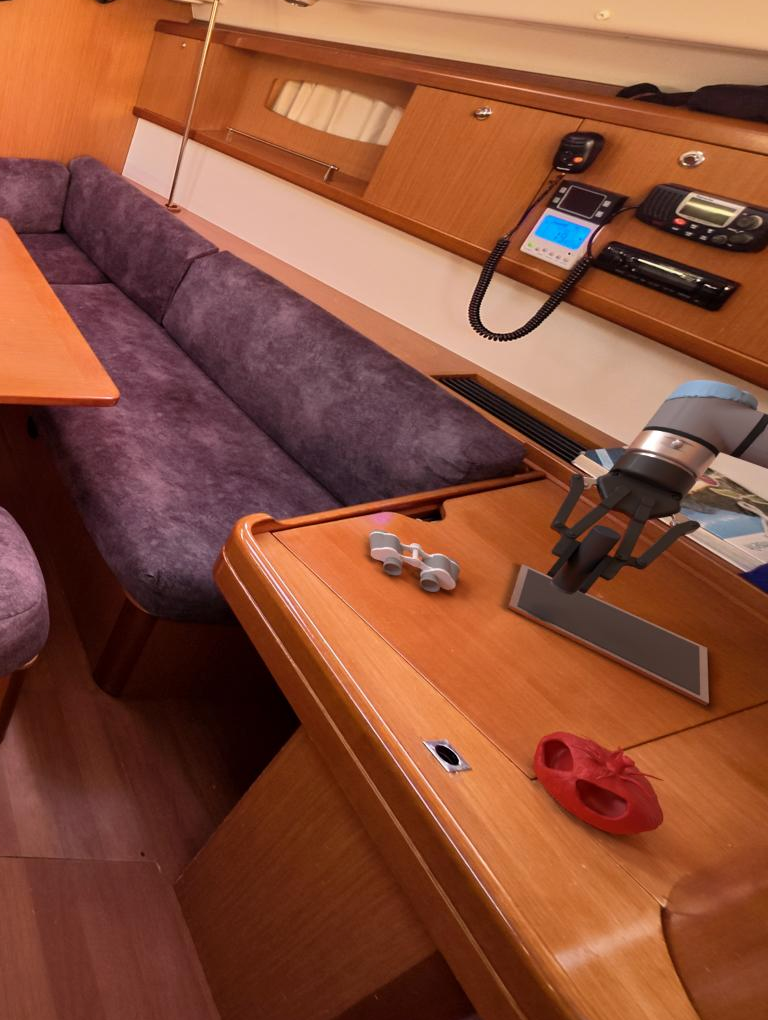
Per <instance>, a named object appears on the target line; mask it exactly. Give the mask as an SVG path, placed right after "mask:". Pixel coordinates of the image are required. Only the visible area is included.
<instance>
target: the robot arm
mask: <svg viewBox="0 0 768 1020" xmlns="http://www.w3.org/2000/svg"><path fill="white" fill-rule="evenodd" d="M758 406H759V400H758V398H757V397H756V396H755V395H754V394H753V393H751V392H749V391H746V390H741V388H739V387H738V386H736V385H732V384H729V383H726V382H721V381H717V380H710V379H709V380H707V379H695V380H688V381H686V382H683V383H681V384H680V385H678V386H677V387H676V388H675V389H674V390H673V392H672V393H671V394H669V396H668V397H667V398H665V400H664V401H663V402H662V404H661V405H660V406H659V408H658V409H657V410H656V412H655V413H654V414H653V415H652V417H651V418H650V419H649V421H648V422H647V423H646V425H645V426H644V427H643V428H642V429H641V431H640V432H638V434H637V435H636V437H635V438H634V439H633V441H632V442H631V443H630V444H629V445H628V446H627V448H626V449H625V453H624V454H622V455H621V456H620V457H619V458H618V459H617V460H616V462H615V463H614V464H613V465H612V466H611V468H610V469H609V470H608V471H607V473H605V474H603V475H600V476H598V477H589V476H583V475H582V474H580V473H573V474H572V475H571V477H570V478H569V482H568V483H569V492H568V494H567V495H566V497H565V499H564V500H563V502H562V504H561V506H560V507H559V509H558V511H557V513H556V515H555V516H554V518H553V519H552V520H551V521H552V522H551V523H550V525H549V528H550V529H551V530H552V531H555V532H556V533H557V534H558V535H560V539H559V540H558V541H557V542H556V544H555V545H554V546H553V547H552V549H551V552H550V553H551V554H552V555H553V556H555V557H558V559H557V560H556V562H554V564H553V565H552V566H551V568H550V569H549V570H548V571H547V573H546V574H545V575H547V576H549V577H551V578H553V577H554V576H555V575H556V573H557V572H558V571H559V570H560V569H561V567H562V566H563V565H564V564H565V562H566V561H567V560H568V559H569V557H570V556H571V555H572V553H573V552H574V551H575V550H576V548H577V547H578V546H579V545H580V543H581V542H582V541H579V540H577V539H578V538H579V537H581V536H582V535H583V534H584V533H586V531H588V530H589V529H590V528H591V527H593V526H595V525H596V523H597V522H599V521H600V520H601V519H602V518H603V517H605V516H606V515H607V514H608V513H610V512H611V511H612V512H616V513H619V514H623V516H626V517H627V518H629V521H628V525H627V527H626V528H625V531H624V533H623V535H622V536H621V539H620V541H619V544H618V546H617V548H616V550H615V553H614V554H613V556H612V555H610V554H608V555H606V556H605V558H604V559H603V560H602V561H601V562H600V564H599V565H598V566H597V567H596V568H595V570H594V571H593V572H592V573H591V574H590V576H589V577H588V578H587V579H586V581H585V582H584V583H583V584H582V586H581V587H580V588H579V589H578V591H579V592H581V593H583V594H585V593H588V591H590V589H591V588H592V587H593V586H594V584H595V583H596V581H597V580H598V579H599V578H600V579H603V580H605V581H607V582H609V581H612V580H613V579H614V578H615V577H616V576H617V574H618V573H619V572H620V571H621V569H622V568H624V567H631V568H635V569H637V570H640V571H641V570H642V571H643V570H645V569H646V568H648V566H650V565H651V564H652V563H653V562H654V561H655V560H656V559H657V558H658V557H660V556H661V555H662V554H663V553H664V552H665V551H666V550H668V548H670V547H671V546H672V544H674V543H675V542H676V541H677V540H678V539H679V538H682V537H683V536H686V535H687V536H688V535H689V534H693V533H695V532H696V531H697V530H698V529H700V528H701V523H700V522H698V521H697V520H695V519H694V520H691V519H690V518H688V516H686V515H684V514H683V513H682V512H681V511H682V505H681V504H682V503H681V502H682V501H683V500H684V499H685V498H686V496H687V495H688V493H689V492H690V491H691V490H692V488H693V487H695V485H696V483H697V481H696V480H699V479H700V478H701V477H702V476H703V475H704V474H705V472H706V471H707V470H708V468H709V467H710V466H711V465H712V464H713V462H714V461H715V460H716V458H717V457H718V456H719V454H720V453H721V454H723V455H727V456H729V457H732V458H735V459H738V460H741V461H744V462H747V463H750V464H752V465H756V466H758V467H761V468H764V469H767V470H768V413H765V412H763V411H759V410H758ZM592 487H595V488H596V490H597V493H598V496H599V499H600V502H599V503H598V504H597V505H596V506H595V507H594V508H593V509H592V510H590V511H588V513H587V514H585V515H584V516H583V517H582V518H581V519H580V520H578V521H577V522H575V524H573V525H572V526H571V527H569V526H567V525H566V522H567V521H568V519H569V517H570V515H571V514H572V512H573V510H574V508H575V506H576V505H577V503H578V501H579V499H580V497H581V496H582V494H583V492H588V491H590V490H591V489H592ZM664 518H671V519H672V520H671V521H670V522H669V523H668V524H669V527H670V528H669V529H668V530H667V531H666V532H665V533H663V534H662V536H660V537H659V538H658V539H656V541H655V542H654V543H653V544H651V546H649V547H648V548H647V549H646V550H645V551H644V552H643V553H642V554H640V555H639V556H638V557H637V556H632V553H633V551H634V549H635V546H636V544H637V542H638V540H639V538H640V536H641V534H642V531H643V529H644V528H645V525H646V523H647V522H648V521H652V520H658V519H664Z"/></svg>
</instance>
